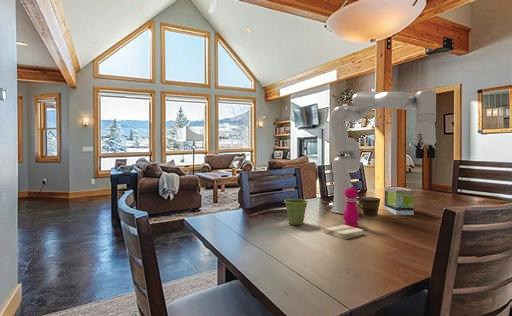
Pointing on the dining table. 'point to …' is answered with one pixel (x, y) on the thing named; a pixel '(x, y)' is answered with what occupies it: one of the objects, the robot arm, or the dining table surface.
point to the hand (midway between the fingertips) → (425, 158)
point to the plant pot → (296, 210)
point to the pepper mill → (351, 207)
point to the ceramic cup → (369, 205)
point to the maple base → (343, 231)
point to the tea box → (399, 200)
